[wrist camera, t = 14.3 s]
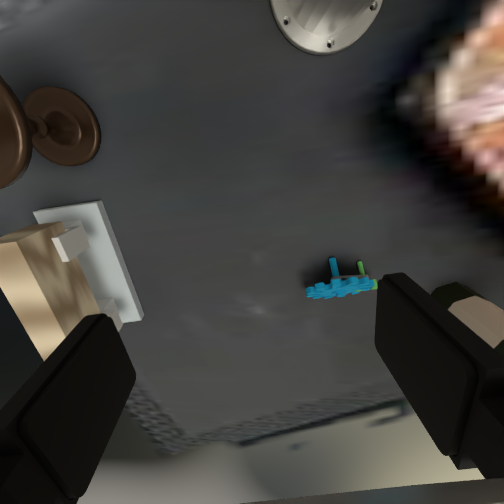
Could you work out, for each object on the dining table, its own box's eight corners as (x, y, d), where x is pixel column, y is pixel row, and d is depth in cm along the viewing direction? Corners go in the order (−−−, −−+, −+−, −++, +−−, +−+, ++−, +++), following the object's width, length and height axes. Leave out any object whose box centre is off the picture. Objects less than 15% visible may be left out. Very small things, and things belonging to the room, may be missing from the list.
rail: (29, 225, 32) (-24, 246, 26) (61, 221, 32) (15, 241, 26) (84, 338, 40) (53, 377, 33) (110, 335, 39) (84, 374, 33)
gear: (298, 303, 43) (321, 289, 34) (292, 269, 45) (313, 247, 36) (359, 299, 45) (397, 284, 36) (352, 267, 47) (385, 245, 38)
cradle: (40, 209, 38) (-21, 230, 29) (101, 200, 37) (58, 219, 29) (93, 321, 46) (57, 364, 37) (144, 314, 45) (120, 356, 37)
